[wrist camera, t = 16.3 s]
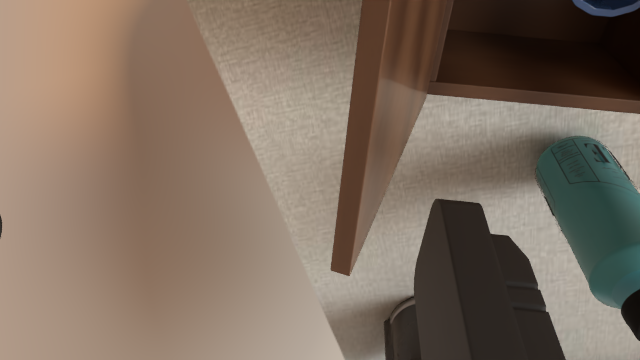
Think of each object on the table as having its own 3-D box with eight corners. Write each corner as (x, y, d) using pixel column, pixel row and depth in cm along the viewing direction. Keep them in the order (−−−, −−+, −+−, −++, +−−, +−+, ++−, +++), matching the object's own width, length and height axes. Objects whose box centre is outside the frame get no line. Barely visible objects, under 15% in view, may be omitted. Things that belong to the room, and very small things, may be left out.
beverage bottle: (519, 180, 50) (595, 360, 34) (542, 119, 46) (640, 291, 30) (587, 186, 50) (696, 370, 34) (615, 126, 46) (754, 302, 30)
